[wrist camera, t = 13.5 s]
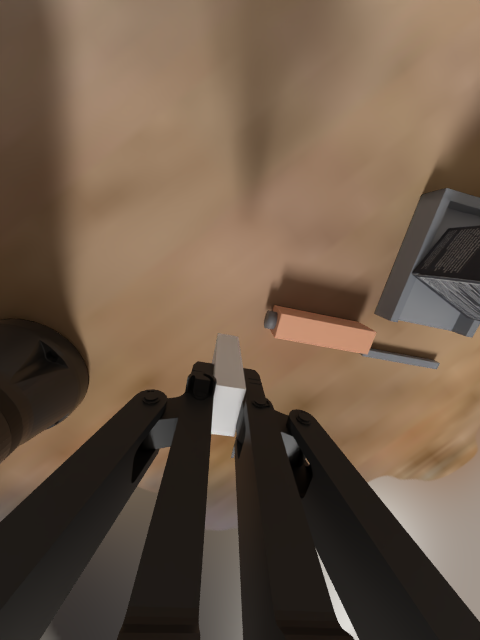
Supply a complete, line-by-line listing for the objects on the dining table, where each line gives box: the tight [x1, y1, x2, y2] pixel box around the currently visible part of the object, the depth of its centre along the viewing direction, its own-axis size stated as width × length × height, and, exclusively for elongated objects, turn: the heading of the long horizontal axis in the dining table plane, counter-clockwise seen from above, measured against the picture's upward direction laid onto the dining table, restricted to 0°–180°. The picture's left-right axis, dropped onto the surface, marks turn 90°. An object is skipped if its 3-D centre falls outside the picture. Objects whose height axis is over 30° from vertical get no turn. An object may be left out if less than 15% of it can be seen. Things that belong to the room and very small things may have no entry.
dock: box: [359, 188, 480, 369], centre depth 30 cm, size 12×21×3 cm, turn 168°
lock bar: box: [264, 305, 377, 355], centre depth 29 cm, size 13×3×4 cm, turn 78°
